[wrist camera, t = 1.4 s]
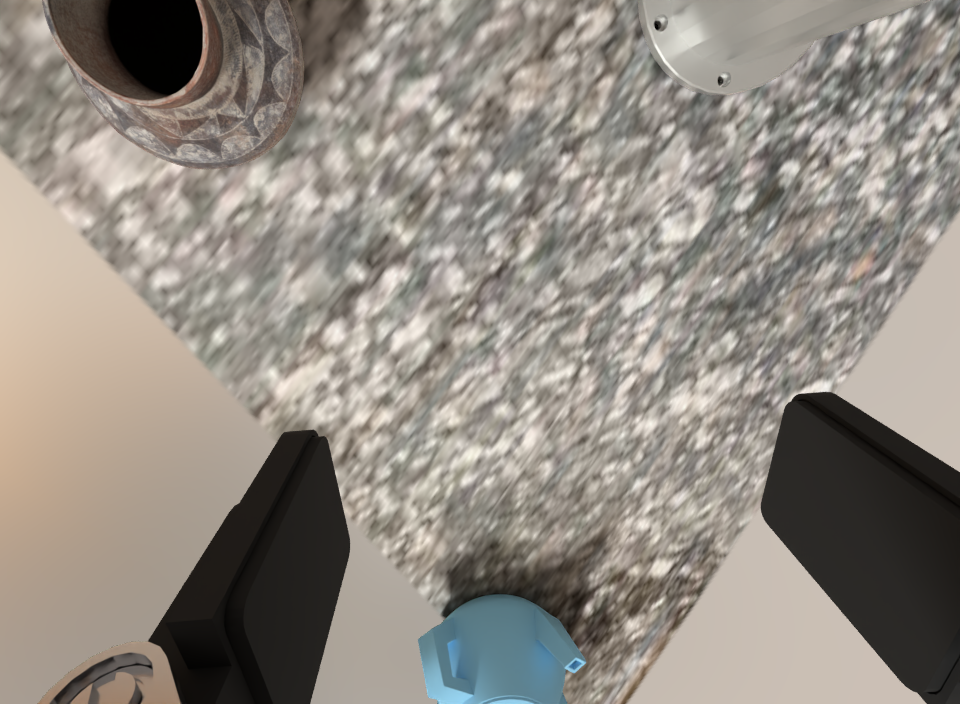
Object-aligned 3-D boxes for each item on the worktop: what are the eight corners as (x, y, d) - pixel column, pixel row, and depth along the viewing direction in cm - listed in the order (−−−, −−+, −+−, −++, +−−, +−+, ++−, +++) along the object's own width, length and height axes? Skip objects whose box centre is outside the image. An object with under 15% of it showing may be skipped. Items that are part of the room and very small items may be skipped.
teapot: (569, 572, 46) (603, 683, 36) (565, 670, 52) (594, 789, 42) (418, 587, 45) (411, 704, 35) (431, 684, 51) (428, 810, 41)
